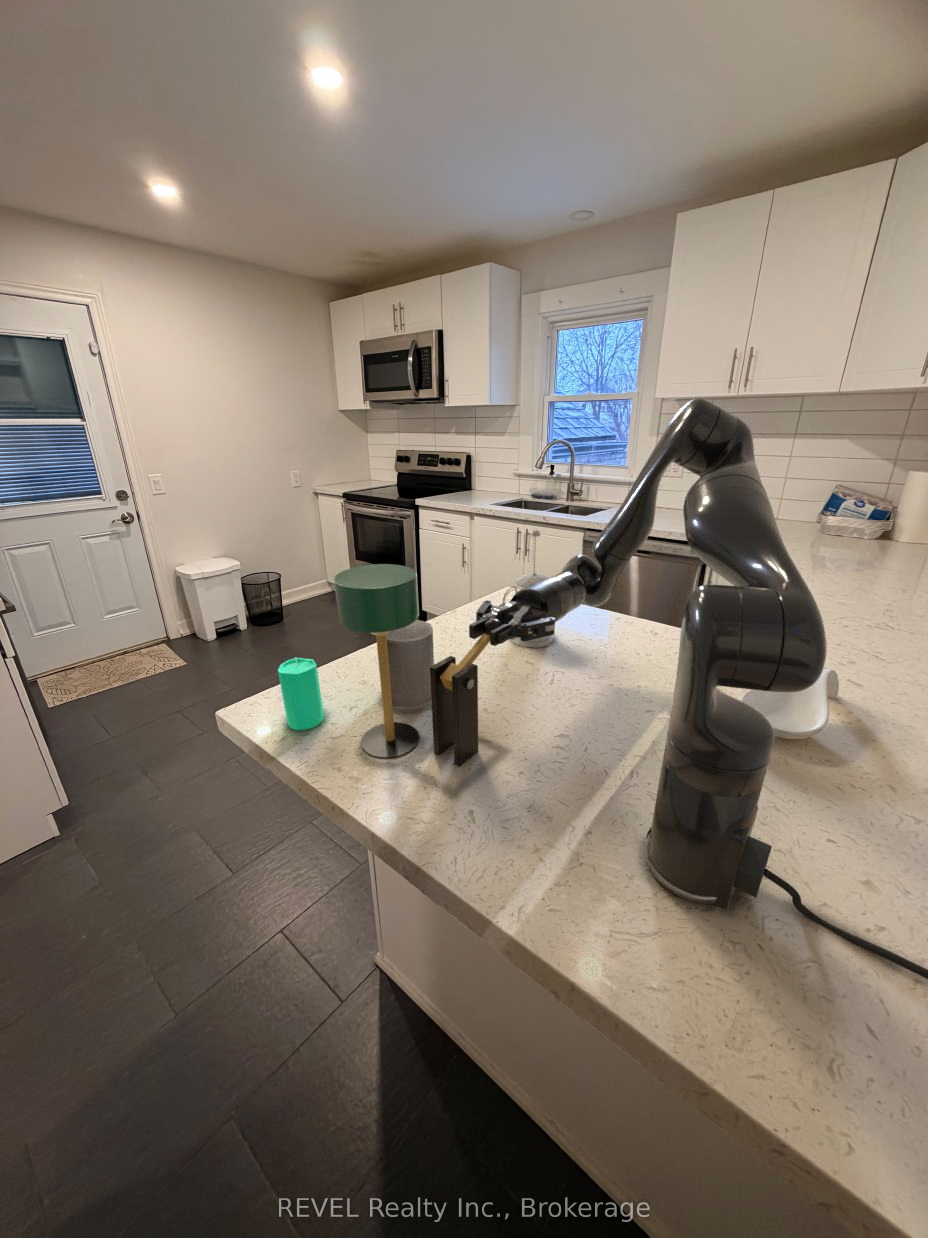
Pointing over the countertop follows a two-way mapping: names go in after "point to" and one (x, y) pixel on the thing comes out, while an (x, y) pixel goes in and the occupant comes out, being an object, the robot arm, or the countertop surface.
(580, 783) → the countertop surface
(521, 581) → the french press
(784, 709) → the spoon rest
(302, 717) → the candle
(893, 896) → the countertop surface
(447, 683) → the switch lever
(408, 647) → the pillar candle
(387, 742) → the desk lamp
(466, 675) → the switch bracket
